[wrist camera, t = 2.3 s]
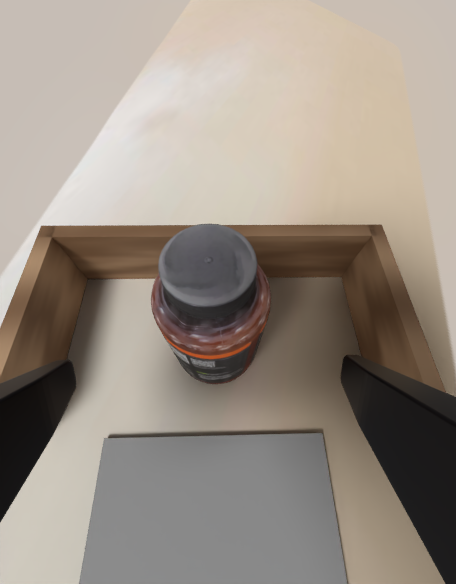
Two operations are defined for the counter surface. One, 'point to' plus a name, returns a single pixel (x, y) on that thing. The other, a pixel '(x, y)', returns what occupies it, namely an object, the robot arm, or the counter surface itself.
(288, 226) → the open wooden enclosure
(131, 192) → the counter surface
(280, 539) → the mat
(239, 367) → the supplement bottle
